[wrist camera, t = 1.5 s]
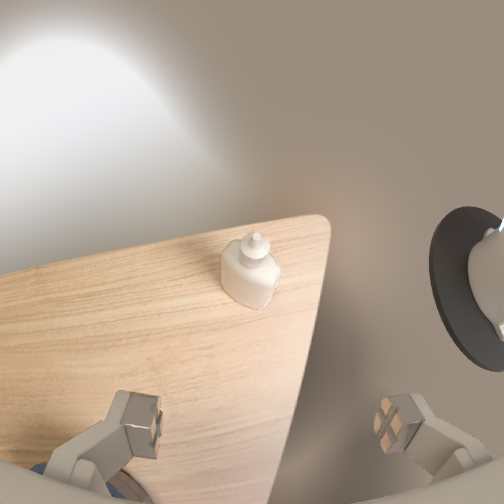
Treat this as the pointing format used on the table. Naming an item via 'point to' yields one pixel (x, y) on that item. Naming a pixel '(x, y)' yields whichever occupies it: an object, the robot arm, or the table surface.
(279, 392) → the table surface
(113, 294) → the table surface
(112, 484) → the bowl
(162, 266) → the table surface
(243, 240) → the eye dropper bottle
